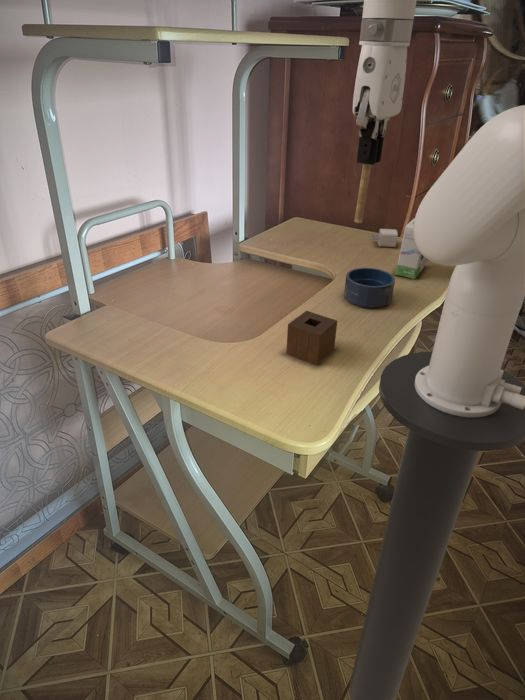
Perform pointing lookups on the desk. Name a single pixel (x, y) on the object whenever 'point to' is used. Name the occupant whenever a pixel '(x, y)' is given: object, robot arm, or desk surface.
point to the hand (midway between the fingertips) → (368, 161)
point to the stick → (362, 193)
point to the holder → (311, 337)
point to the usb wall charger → (386, 237)
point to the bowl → (369, 287)
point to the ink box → (410, 255)
